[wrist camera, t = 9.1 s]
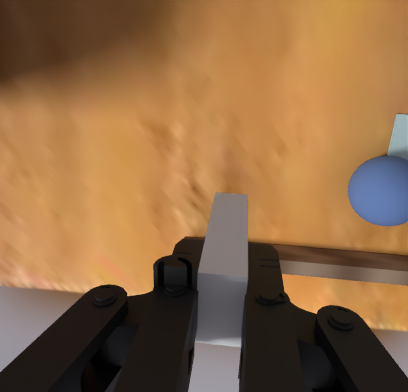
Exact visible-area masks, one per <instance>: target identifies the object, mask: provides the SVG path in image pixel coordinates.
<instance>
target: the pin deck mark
mask: <svg viewBox="0 0 408 392" xmlns="http://www.w3.org/2000/svg"><path fill="white" fill-rule="evenodd" d="M387 156H398V157H402V158H404V159H407V160H408V114H396V117H395V122H394V126H393V131H392V135H391V140H390V144H389V149H388V153H387Z"/></svg>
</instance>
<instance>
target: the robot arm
mask: <svg viewBox="0 0 408 392" xmlns="http://www.w3.org/2000/svg"><path fill="white" fill-rule="evenodd" d="M153 269H154V288H153V291H151V292H148V293H146V294H141V295H135V296H127V292H126V291H125V290H124V288H122V287H120V286H117V285H110V284H109V285H101V286H98V287H95V288H93V289H91V290H90V291H88V292H87V293H85V294H84V295H83V296H82V297H81V298H80V299H79V300H78V301H77V302H76V303H75V304H74V305H72V306H71V307H70V308H69V309H68V310H67V311H66V312H65V313H64V314H63V315H62V316H61V317H59V318H58V320H56V321H55V322H54V323H53V324H52V325H51V326H50V327H49V328H48V329H47V330H45V331H44V332H43V333H42V334H41V335H40V336H39V337H38V338H37V339H36V340H35V341H34V342H32V344H30V345H29V346H28V347H27V348H26V349H25V350H24V351H23V352H22V353H21V354H20V355H18V356H17V357H16V358H15V359H14V360H13V361H12V362H11V363H10V364H9V365H8V366H7V367H5V368H4V369H3V370H2V371H1V372H0V392H188V388H189V383H190V377H191V371H192V365H193V359H194V343H195V338H196V342H198V343H207V344H216V345H226V346H234V347H241V354H240V364H239V375H238V378H239V392H408V378H407V376H406V375H405V374H404V372H403V371H402V370H401V368H400V367H399V366H398V364H397V363H396V362H395V361H394V359H393V358H392V357H391V355H390V354H389V353H388V351H387V350H386V349H385V348H384V346H383V345H382V344H381V342H380V341H379V340H378V338H377V337H376V336H375V335H374V333H373V332H372V331H371V329H370V328H369V327H368V325H367V324H366V323H365V321H364V320H363V319H362V318H361V317H360V316H359V315H358V314H357V313H355V312H353V311H351V310H350V309H347V308H344V307H341V306H334V305H329V306H325V307H322V308H321V309H319V310H318V312H317V314H315V313H312V312H309V311H306V310H303V309H301V308H299V307H297V306H295V305H294V304H292V303H291V302H290V299H289V297H288V295H287V294H286V293H285V292H284V286H283V280H282V274H281V268H280V262H279V255H278V252H277V250H276V249H275V248H274V247H273V246H272V245H267V244H255V243H248V200H247V195H246V194H232V193H218V192H216V193H215V197H214V202H213V206H212V211H211V215H210V220H209V224H208V229H207V233H206V238H205V240H197V239H185V238H183V239H182V240H181V241H179V242H178V243H177V244H176V245H175V248H174V250H173V253H172V255H169V256H165V257H162V258H160V259H158V260H157V261H156V262H155V263H154V264H153Z"/></svg>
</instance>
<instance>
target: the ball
mask: <svg viewBox="0 0 408 392" xmlns="http://www.w3.org/2000/svg"><path fill="white" fill-rule="evenodd" d="M348 196H349V200H350V203H351V205H352V207H353V209H354V210H355V212H356V213H357V214H358V215H359V216H360V217H362V218H363V219H364V220H366V221H368V222H370V223H372V224H375V225H380V226H396V225H400V224H403V223H406V222H408V160H407V159H404V158H402V157H398V156H387V155H386V156H379V157H375V158H372V159H370V160H368V161H366V162H364V163H363V164H362V165H360V166H359V167H358V168H357V169H356V170H355V172H354V173H353V175H352V177H351V179H350V182H349V186H348Z"/></svg>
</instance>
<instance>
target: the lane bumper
mask: <svg viewBox="0 0 408 392" xmlns="http://www.w3.org/2000/svg"><path fill="white" fill-rule="evenodd" d="M184 238H185V239H197V240H205V238H194V237H184ZM248 243H252V242H248ZM255 244H264V243H255ZM267 245H272V246H273V247H274V248H275V249H276V250H277V252H278V255H279V262H280V268H281V274H291V275H301V276H312V277H322V278H333V279H343V280H354V281H364V282H375V283H385V284H396V285H407V286H408V256H404V255H392V254H380V253H369V252H357V251H345V250H334V249H322V248H311V247H299V246H287V245H276V244H267Z"/></svg>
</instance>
